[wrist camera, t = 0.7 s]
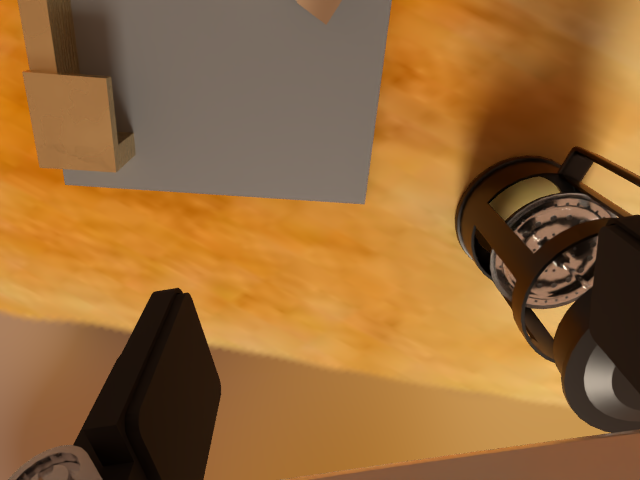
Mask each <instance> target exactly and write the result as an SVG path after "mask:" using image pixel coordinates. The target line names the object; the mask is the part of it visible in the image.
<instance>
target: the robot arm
mask: <svg viewBox="0 0 640 480" xmlns="http://www.w3.org/2000/svg"><path fill="white" fill-rule="evenodd" d="M589 330H590V334H591V336H592V338H593V339H594V341H595V342H596V343H597V344H598V346H599V347H600V348H601V349H602V350H603V351H604V353H605V354H606V355H607V356H608V357H609V359H610V360H611V361H612V362H613V363H614V364H615V366H616V367H617V368H618V369H619V370H620V371H621V373H622V374H623V375H624V376H625V377H626V379H627V380H628V381H629V382H630V383H631V384H632V386H633V387H634V388H635V389H636V390H637V392H638V393H639V394H640V215H632V216H626V217H620V218H613V219H610V220H609V221H608V222H607V223H606V226H604V227H602V228H601V229H600V230H599V234H598V243H597V252H596V261H595V270H594V280H593V289H592V298H591V307H590V317H589ZM220 396H221V385H220V379H219V376H218V373H217V371H216V368H215V365H214V362H213V359H212V356H211V353H210V350H209V347H208V344H207V341H206V338H205V335H204V332H203V329H202V327H201V324H200V321H199V318H198V315H197V312H196V309H195V306H194V303H193V300H192V298H191V295H190V294H189V293H183V292H182V291H181V289H179V288H175V289H168V290H162V291H156V292H153V294H152V295H151V297H150V299H149V301H148V303H147V305H146V307H145V309H144V311H143V313H142V315H141V317H140V319H139V320H138V322H137V324H136V326H135V328H134V330H133V332H132V334H131V336H130V338H129V340H128V342H127V344H126V346H125V348H124V350H123V352H122V354H121V355H120V356H119V358H118V359H117V361H116V363H115V365H114V367H113V369H112V370H111V373H110V374H109V376H108V378H107V380H106V382H105V384H104V386H103V388H102V390H101V392H100V394H99V396H98V398H97V400H96V402H95V404H94V406H93V408H92V409H91V411H90V413H89V415H88V417H87V419H86V421H85V423H84V425H83V427H82V429H81V431H80V433H79V435H78V437H77V439H76V441H75V443H74V445H66V446H59V447H56V448H52V449H49V450H47V451H45V452H43V453H41V454H39V455H37V456H35V457H33V458H32V459H31V460H30V461H28V462H27V463H25V464H24V465H22V466H21V467H20V468H19V469H18V470H17V471H16V472H15V473H14V474H13V475H12V476H11V477H10V478H9V479H8V480H203V478H204V474H205V469H206V464H207V459H208V455H209V450H210V445H211V440H212V435H213V430H214V425H215V421H216V416H217V411H218V406H219V401H220ZM282 480H640V429H638V430H631V431H623V432H616V433H609V434H601V435H593V436H586V437H579V438H572V439H564V440H556V441H549V442H543V443H535V444H527V445H520V446H513V447H506V448H498V449H492V450H484V451H477V452H470V453H463V454H456V455H448V456H441V457H435V458H427V459H420V460H413V461H406V462H399V463H392V464H385V465H378V466H372V467H364V468H357V469H351V470H344V471H337V472H330V473H324V474H316V475H309V476H303V477H296V478H289V479H282Z"/></svg>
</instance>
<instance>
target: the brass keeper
mask: <svg viewBox="0 0 640 480" xmlns="http://www.w3.org/2000/svg"><path fill="white" fill-rule="evenodd" d="M18 5H19V10H20V16H21V22H22V28H23V33H24V39H25V45H26V51H27V56H28V62H29V68H30V70H27V71H23V77H24V83H25V89H26V94H27V100H28V105H29V111H30V116H31V122H32V127H33V133H34V138H35V144H36V150H37V155H38V161H39V166H40V168H55V169H70V170H84V171H99V172H114V173H116V172H117V171H119V170H120V169H121V168H122V167H123V166H124V165H125V164H126V163H127V162H128V161H129V160H131V159H132V158H133V157H134V156H135V155H136V153H135V142H134V133H128V132H117V128H116V118H115V109H114V99H113V89H112V80H111V76H100V75H87V74H80V69H79V61H78V54H77V46H76V38H75V31H74V23H73V15H72V8H71V0H18Z"/></svg>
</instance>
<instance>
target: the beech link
mask: <svg viewBox="0 0 640 480" xmlns="http://www.w3.org/2000/svg"><path fill="white" fill-rule="evenodd" d="M296 1H297V3H298V4H299V5H301V6H302V7H303V8H305V9H306V10H307V11H308V12H310V13H311V14H312V15H314V16H315V17H316V18H318V19H319V20H320V21H322V22H323V23H324V24H326V25H327V23H328V22H329V20H330V18H331V17H332V15H333V14H334V12H335V11H336V9H337V7H338V6H339V4H340V3H341V1H342V0H296Z"/></svg>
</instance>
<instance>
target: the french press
mask: <svg viewBox="0 0 640 480" xmlns="http://www.w3.org/2000/svg"><path fill="white" fill-rule="evenodd" d="M593 162H595V163H597V164H599V165H601V166H603V167H605V168H606V169H608V170H610V171H612V172H614V173H615V174H617V175H619V176H621V177H623V178H624V179H626V180H628V181H630V182H632V183H634V184H635V185H637V186H639V187H640V176H638V175H636V174H635V173H633V172H631V171H629V170H627V169H625V168H623V167H621V166H619V165H617V164H615V163H613V162H611V161H609V160H608V159H606V158H604V157H602V156H600V155H598V154H595V153H593V152H590V151H588V150H586V149H583V148H581V147H576V146H575V147H573V148H572V149H571V151H570V152H569V154H568V156H567V157H566V159H565V160H564V162H563V164H562V165H560V164H558V163H556V162H555V161H553V160H551V159H547V158H543V157H540V156H520V157H513V158H510V159H507V160H504V161H501V162H499V163H497V164H495V165H493V166H491V167H489V168H488V169H486V170H485V171H484V172H482V173H481V174H480V175H479V176H478V177H477V178H476V179H475V180H474V181H473V182H472V183H471V184H470V185H469V187H468V188H467V190H466V191H465V192H464V194H463V196H462V198H461V200H460V203H459V205H458V208H457V213H456V217H455V229H456V234H457V238H458V241H459V243H460V245H461V247H462V249H463V250H464V251H465V253H466V254H467V255H468V256H469V257H470V258H471V259H472V260H473V261H474V262H475V263H476V265H477V266H478V267H479V269H480V270H481V271H482V272H483V274H484V275H486V276H487V277H488V278H490V279H491V280H492V281H493V282H494V284H495V285H496V287H497V289H498V290H499V291H500V292H501V294H502V295H503V297H504V298H505V300H506V301H507V303H508V304H509V306H510V307H511V309H512V311H513V316H514V320H515V322H516V324H517V326H518V328H519V330H520V331H521V333H522V334H523V336H524V337H525V339H526V340H527V342H528V343H529V344H530V346H531V347H532V348H533V349H534V350H535V352H537V353H538V354H539V355H541V356H542V357H544V358H545V359H547V360H549V361H551V362H554V363H555V364H556V366H557V368H558V370H559V372H560V373H561V381H562V389H563V393H564V395H565V398H566V400H567V402H568V404H569V406H570V407H571V408H572V410H573V411H574V412H575V413H576V414H577V415H578V417H579V418H580V419H582V420H583V421H585V422H586V423H588V424H589V425H591V426H593V427H595V428H598V429H600V430H603V431H606V432H611V433H616V432H623V431H631V430H638V429H640V394H639V393H638V392H637V390H636V389H635V388H634V387H633V386H632V384H631V383H630V382H629V381H628V380H627V379H626V377H625V376H624V375H623V374H622V373H621V371H620V370H619V369H618V368H617V367H616V366H615V364H614V363H613V362H612V361H611V360H610V359H609V357H608V356H607V355H606V354H605V353H604V351H603V350H602V349H601V348H600V347H599V346H598V344H597V343H596V342H595V341H594V339H593V338H592V336H591V334H590V330H589V317H590V307H591V298H592V289H593V280H594V270H595V261H596V252H597V243H598V234H599V230H600V229H601V228H602V227H604V226H606V223H607V222H608V221H609V220H610V219H613V218H617V216H618V217H619V218H620V217H626V216H632V215H631V214H630V213H628V212H627V211H625V210H623V209H622V208H620V207H619V206H617V205H616V204H614V203H613V202H611V201H610V200H608V199H606V198H605V197H603V196H602V195H600V194H599V193H597V192H596V191H594V190H593V189H591V188H590V187H588V186H586V185H585V184H583V183H582V182H581V181H582V179H583V178H584V176H585V175H586V173H587V171H588V170H589V168H590V167H591V165H592V164H593ZM538 176H540V177H544V178H546V179H548V180H550V181H552V182H553V183H554V184H555V185H556V186H557V188H558V189H559V191H560V193H558V194H551V195H548V196H545V197H541V198H538V199H536V200H534V201H532V202H530V203H528V204H526V205H525V206H523V207H521V208H520V209H518V210H517V211H516V212H514V213H513V214H512V215H511V216H510V217H509V218H508V219H507V220H506V221H504V220H503V219H502V218H501V217H500V216H499V215H498V213H497V212H496V211H495V210H494V209H493V208H492V207H491V206H490V205H489V203H490V202H491V201H492V200H493V199H494V198H495V197H496V196H497V195H498V194H500V193H501V192H503V191H504V190H505V189H507V188H508V187H510V186H512V185H514V184H516V183H518V182H520V181H522V180H525V179H529V178H532V177H538ZM476 228H477V229H478V230H479V232H480V233H481V234H482V236H483V237H484V238H485V239H486V241H487V242H488V243H489V245H490V246H491V252H489V251H487V250H486V249H485V248H483V247H482V246H481V245H480V243H479V242H478V240H477V238H476V235H475V230H476ZM574 301H575V302H574ZM572 302H574V304H573V305H572V306H571V307H570V308H569V309H568V310H567V312H566V313H565V315H564V317H563V318H562V320H561V322H560V323H559V325H558V328H557V331H556V334H555V337H554V339H553V338H552V336H551V335H550V334H549V332H548V331H547V330H546V328H545V327H544V326H543V324H542V323H541V322H540V320H539V319H538V318H537V316H536V315H535V313H534V312H533V311H532V309H531V308H534V309H547V308H556V307H559V306H563V305H567V304H569V303H572ZM527 332H528V334H529V335H530V336H529V335H528V334H527Z"/></svg>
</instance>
